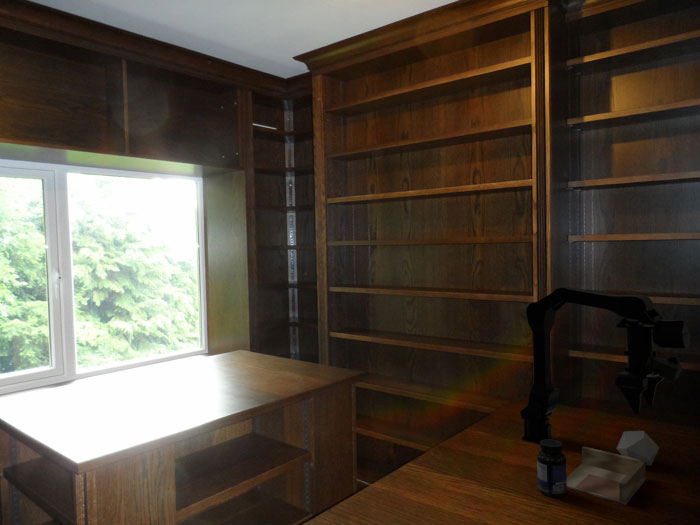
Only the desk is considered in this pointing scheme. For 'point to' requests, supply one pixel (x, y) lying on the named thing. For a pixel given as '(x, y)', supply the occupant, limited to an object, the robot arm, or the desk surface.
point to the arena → (608, 475)
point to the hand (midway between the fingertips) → (643, 409)
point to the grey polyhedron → (637, 446)
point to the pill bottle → (551, 469)
